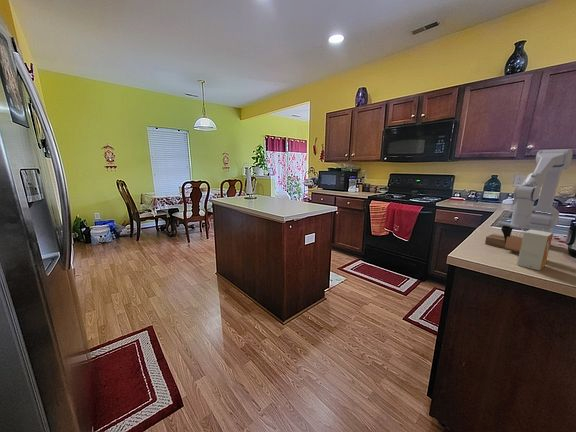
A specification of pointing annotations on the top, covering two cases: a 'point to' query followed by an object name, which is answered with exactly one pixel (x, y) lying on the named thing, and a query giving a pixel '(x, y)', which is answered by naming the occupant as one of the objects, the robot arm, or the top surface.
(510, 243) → the terracotta cube
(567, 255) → the top surface
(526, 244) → the small box
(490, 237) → the walnut block
